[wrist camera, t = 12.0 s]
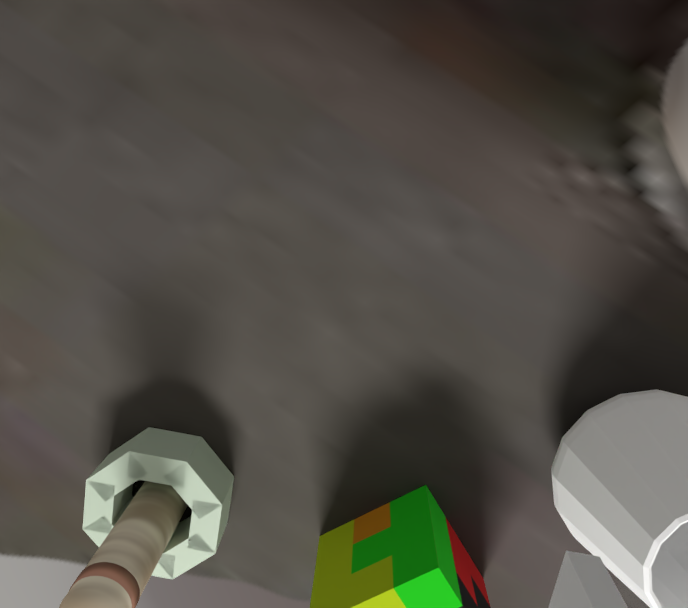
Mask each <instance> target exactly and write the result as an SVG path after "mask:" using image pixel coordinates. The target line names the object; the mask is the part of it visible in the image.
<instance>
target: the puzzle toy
mask: <svg viewBox="0 0 688 608" xmlns="http://www.w3.org/2000/svg"><path fill="white" fill-rule="evenodd" d="M310 608H490V604H489V600H488V596H487V592H486V588H485V584H484V580H483V577H482V576H481V574H480V572H479V571H478V569H477V568H476V566H475V564H474V563H473V561H472V559H471V558H470V556H469V554H468V553H467V551H466V550H465V548H464V546H463V545H462V543H461V541H460V540H459V538H458V536H457V535H456V533H455V531H454V530H453V528H452V527H451V525H450V523H449V522H448V520H447V518H446V517H445V515H444V513H443V512H442V510H441V509H440V507H439V505H438V504H437V502H436V500H435V499H434V497H433V495H432V494H431V492H430V491H429V489H428V487H427V486H426V485H424V486H422V487H420V488H418V489H416V490H414V491H412V492H410V493H408V494H406V495H404V496H401V497H399V498H397V499H395V500H393V501H391V502H389V503H387V504H385V505H383V506H381V507H379V508H377V509H375V510H373V511H371V512H368V513H366V514H364V515H362V516H360V517H358V518H356V519H354V520H352V521H350V522H348V523H346V524H344V525H342V526H340V527H338V528H335V529H333V530H331V531H329V532H327V533H325V534H323V535H321V536H320V538H319V545H318V552H317V559H316V566H315V573H314V580H313V587H312V594H311V602H310Z"/></svg>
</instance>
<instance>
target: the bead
mask: <svg viewBox="0 0 688 608" xmlns="http://www.w3.org/2000/svg"><path fill="white" fill-rule="evenodd" d="M138 480H144V481H149V482H155V483H160V484H166V485H171V486H172V487H173V488H174V489H175V490H176V491H177V493H178V494H179V495H180V496H181V497H182V499H183V500H184V501H185V502H186V503H187V505H188V506H189V507H190V508H191V509H192V515H191V516H189V517H188V518H186V519H185V520H183V521H181V522H179V523H178V525H177V527H176V529H175V531H174V533H173V535H172V536H171V538H170V540H169V542H168V544H167V546H166V548H165V550H164V552H163V554H162V556H161V557H160V559H159V561H158V563H157V565H156V567H155V569H154V571H153V573H152V576H158V577H163V578H168V579H174V578H176V577H177V576H179V575H181V574H182V573H184V572H186V571H187V570H189V569H191V568H192V567H194V566H196V565H197V564H199V563H200V562H202V561H204V560H205V559H207V558H209V557H210V556H212V555H214V554H215V553H216V551H217V548H218V546H219V543H220V541H221V538H222V536H223V533H224V530H225V528H226V525H227V523H228V517H229V510H230V503H231V496H232V489H233V482H234V476H233V475H232V473H231V472H230V471H229V470H228V469H227V467H226V466H225V465H224V464H223V462H222V461H221V460H220V459H219V457H218V456H217V455H216V454H215V453H214V451H213V450H212V449H211V448H210V446H209V445H208V444H207V443H206V441H205V440H204V439H203V438H202V437H201V436H195V435H190V434H184V433H179V432H173V431H168V430H162V429H157V428H151V427H148V428H147V429H145V430H144V431H142V432H141V433H139V434H138V435H136V436H135V437H133V438H132V439H130V440H129V441H127V442H126V443H124V444H123V445H121V446H120V447H118V448H117V449H115V450H114V451H113V452H111V453H110V454H108V456H107V457H106V458H105V459H104V460H103V461H102V462H101V464H100V465H99V466H98V467H97V468H96V469H95V471H94V472H93V473H92V474H91V475H90V476H89V477H88V479H87V480H86V490H85V504H84V518H83V530H84V531H85V532H86V533H87V535H88V536H89V537H90V538H91V539H92V540H93V541H94V542H95V544H96V545H97V546H98V547H100V546H101V544H102V543H103V541H104V540H105V538H106V537H107V536H108V534H109V533H110V531H111V530H112V528H113V527H114V525H115V524H116V522H117V521H118V520H119V518H120V517H121V515H122V514H123V512H124V511H125V509H126V508H127V507H128V505H129V504H130V502H131V501H132V499H133V498H134V497H133V496H132V489H133V483H134V482H136V481H138Z"/></svg>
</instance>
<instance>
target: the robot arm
mask: <svg viewBox="0 0 688 608" xmlns="http://www.w3.org/2000/svg"><path fill="white" fill-rule="evenodd" d="M548 608H628V607H627V605H626V603H625V602H624V600H623V598H622V596H621V594H620V593H619V591H618V589H617V587H616V585H615V584H614V582H613V580H612V578H611V576H610V575H609V573H608V571H607V569H606V567H605V565H604V564H603V562H602V560H601V558H600V557H598V556H593V555H587V554H582V553H576V552H571V551H566V553H565V556H564V560H563V563H562V566H561V569H560V572H559V575H558V579H557V582H556V585H555V588H554V591H553V595H552V598H551V601H550V604H549V607H548Z"/></svg>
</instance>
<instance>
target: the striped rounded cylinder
mask: <svg viewBox="0 0 688 608" xmlns="http://www.w3.org/2000/svg"><path fill="white" fill-rule="evenodd" d="M187 506H188V505H187V503H186V502H185V501H184V500H183V499H182V497H181V496H180V495H179V494H178V493H177V491H176V490H175V489H174V488H173V487H172V486H171V485H166V484H160V483H155V482H149V481H145V482H144V483H143V485H142V486H141V488H140V489H139V491H138V492H137V493H136V495H135V496H134V498H133V499H132V501H131V502H130V504H129V505H128V507H127V508H126V509H125V511H124V512H123V514H122V515H121V517H120V518H119V520H118V521H117V522H116V524H115V525H114V527H113V528H112V530H111V531H110V533H109V534H108V536H107V537H106V538H105V540H104V541H103V543H102V544H101V546H100V547H99V549H98V550H97V551H96V553H95V554H94V556H93V557H92V559H91V560H90V562H89V563H88V565H87V566H86V567H85V569H84V570H83V571H82V572H81V574H80V575H79V576H78V578H77V579H76V581H75V582H74V583H73V585H72V586H71V588H70V590H69V592H68V594H67V595H66V596H65V598H64V599H63V601H62V603H61V604H60V607H59V608H135V607H136V605H137V603H138V601H139V597H140V596H141V594H142V592H143V590H144V588H145V586H146V584H147V582H148V580H149V579H150V577H151V575H152V573H153V571H154V569H155V567H156V565H157V563H158V561H159V559H160V557H161V556H162V554H163V552H164V550H165V548H166V546H167V544H168V542H169V540H170V538H171V536H172V535H173V533H174V531H175V529H176V527H177V525H178V523H179V521H180V519H181V517H182V515H183V514H184V512H185V510H186V508H187Z"/></svg>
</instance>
